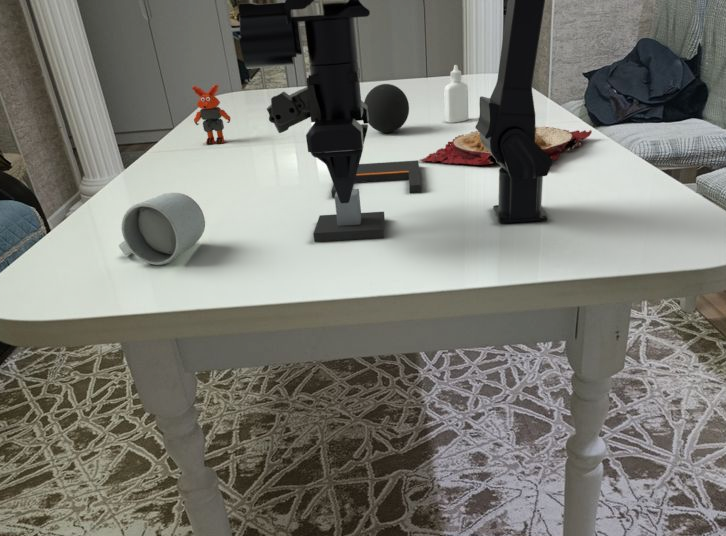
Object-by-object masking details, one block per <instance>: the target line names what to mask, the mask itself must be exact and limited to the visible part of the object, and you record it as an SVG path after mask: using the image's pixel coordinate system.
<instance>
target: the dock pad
mask: <svg viewBox="0 0 726 536" xmlns="http://www.w3.org/2000/svg"><path fill="white" fill-rule="evenodd" d="M406 180H408V184H409V186H408V187H409V193H410V194H415V193H422V181H421V173H420V165H419V160H416V159H415V160H404V161H385V162H370V163H369V162H368V163H359V167H358V170H357V174H356V178H355V182H354V184H358V183H359V184H361V183H374V182H376V183H377V182H390V181H391V182H392V181H406ZM335 193H336V189H335V187H334V184H333V183H332V187H331V197H332V198H333V199H335Z"/></svg>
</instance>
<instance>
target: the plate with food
mask: <svg viewBox="0 0 726 536" xmlns="http://www.w3.org/2000/svg"><path fill="white" fill-rule="evenodd" d="M592 132H593V130H592V129H590V130H589V131H587V130H582V131H580V130H579V129H577V130H573V131H569V129H568V130H566V129H562V128H561V129H560V128H556V127H551V126H535V143H536V144H537V145H538V146H539V147H540V148H541V149H542V150H543V151H544V152H545V153H546V154H547V155H548V156H550V157H551V158H552V160H553V161H557V160H558V159H559V157H560V155H563V154H564V153H565V152H573V151H574V150H575V149H574V148H577V147H580V146H582V142H581V141H583V140H586V139H587V138H589V137H590V136H591V134H592ZM491 156H492V155H491V154H490V153H489V152H488V150H487V149H486V148H485V147H484V146H483V144H482V142H481V139H480V132H479V131H478V130H475V131H471V132H470V133H466V134H465V135H464V134H461V135H459V134H458V135H457V136H455V137H454V138H453V139H452V141H447V144H445V146H444V148H443V147H441V148H439V149H437V150H436V152H433V153H429V154H428V155H427V156H426V157H425V158H422V159H420V161H422V162H423V163H426V162H432V163H436V162H440V163H441V164H448V165H449V164H455V165H457V164H465V165H467V164H468V165H474V166H475V165H478V166H479V165H492V164H495V161H492V158H490V157H491ZM492 157H493V156H492Z"/></svg>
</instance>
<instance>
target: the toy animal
mask: <svg viewBox="0 0 726 536" xmlns="http://www.w3.org/2000/svg"><path fill="white" fill-rule="evenodd" d="M219 87H220V85H219V84H217V83H216V84H214V85H213V86H211V88H210V89H209V90H208V92H205V91H204V90H203V89H202V88H201V87H198V86H197V85H194V86H192V87H191V89H192V90H193V91H194V93H195V95H197V96H198V97H199V99H198V101H197V103H196V105H197V107H198V108H199V109H200V110H199V111H196V114H195V117H194V118H193V122H194V124H195V125H196V126H199V125H200V124H199V123H198V122H200V120H202V127H203V131H204V132H205V133H207V134H206V135H207V138H206V141H205V144H206V145H208V146H209V145H213V144H214V145H215V144H216V145H219V144H220V145H221V144H224V143H225V142H226V141H225V138H224V133H223V130H224V129H225V126H224V125H225V124H224V121H223V119H225V120H227V121H226V123H227V124H229V123H230V122H231V116H230V115H229V114H228V113H227V112H226V111H225V110H224V109H222V108H221V107H219V105H220V104H221V101H220V100H219V99H218V98H217V97H216V96H215V95H216V94H217V92H218V91H219V90H218V89H219ZM222 118H223V119H222ZM214 131H215V132H216V135H217V137H216V139H215V136H214Z"/></svg>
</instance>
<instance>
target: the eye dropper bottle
mask: <svg viewBox="0 0 726 536" xmlns="http://www.w3.org/2000/svg"><path fill="white" fill-rule="evenodd" d="M443 95H444V96H443V97H444V98H443V100H444V121H445V122H446V123H450V124H453V123H462V122H465V121H468V119H469V86H468V84H467V83H465V82H464V81H463V82H462V71H461V70H459V67H458V64H454V65H453V70H451V71H450V83H448V84H447V85H445V87H444V89H443Z"/></svg>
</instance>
